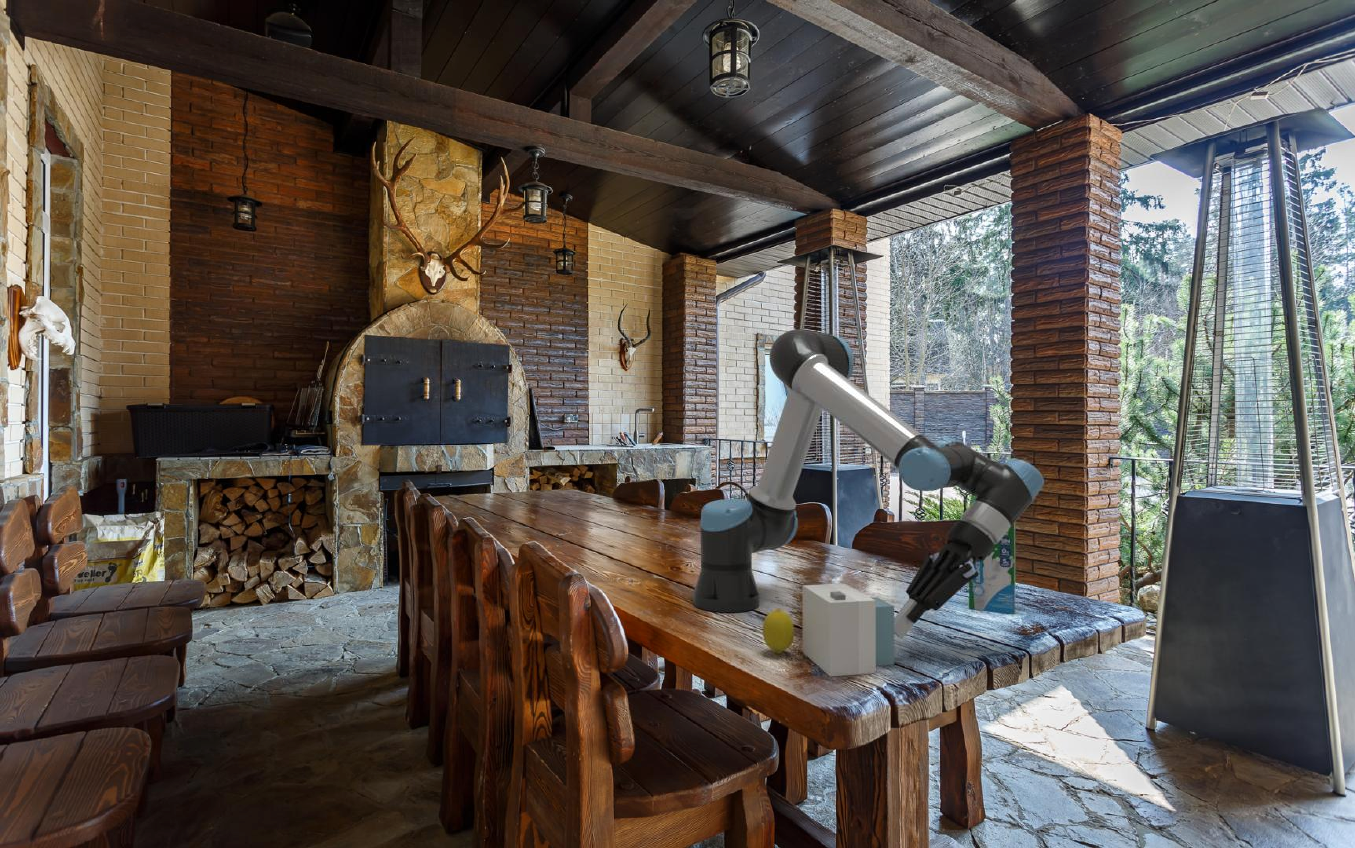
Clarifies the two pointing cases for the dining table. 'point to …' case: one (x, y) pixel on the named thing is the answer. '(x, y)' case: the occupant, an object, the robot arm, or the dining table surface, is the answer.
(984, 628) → the dining table surface
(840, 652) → the socket
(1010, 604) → the milk carton
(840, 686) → the dining table surface
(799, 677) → the dining table surface
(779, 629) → the lemon
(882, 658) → the plug
